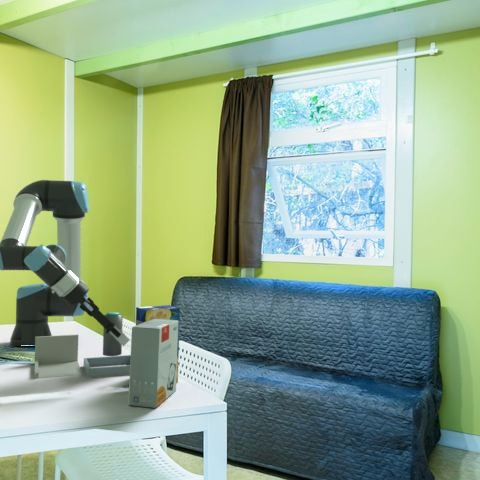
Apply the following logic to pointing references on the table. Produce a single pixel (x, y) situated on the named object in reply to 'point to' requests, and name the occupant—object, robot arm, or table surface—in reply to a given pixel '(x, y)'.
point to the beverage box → (159, 313)
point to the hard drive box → (153, 362)
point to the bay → (56, 356)
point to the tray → (107, 370)
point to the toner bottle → (109, 342)
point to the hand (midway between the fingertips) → (124, 340)
